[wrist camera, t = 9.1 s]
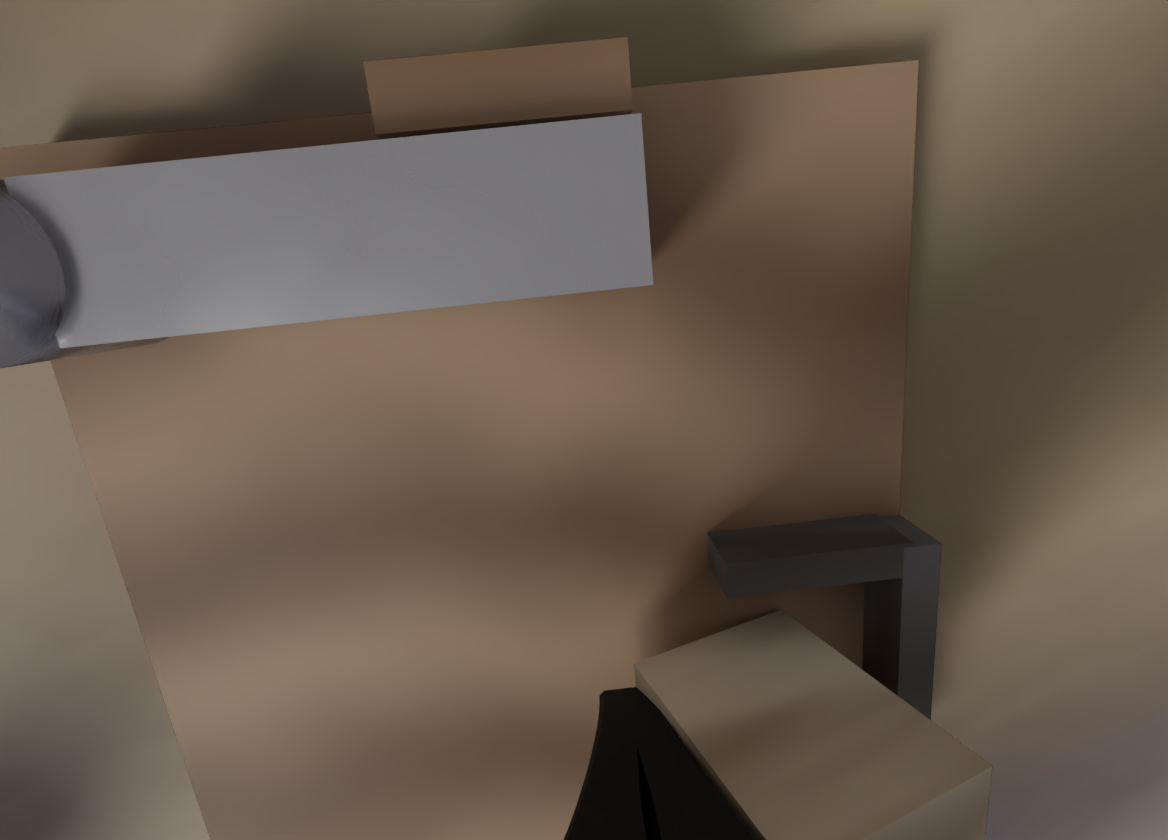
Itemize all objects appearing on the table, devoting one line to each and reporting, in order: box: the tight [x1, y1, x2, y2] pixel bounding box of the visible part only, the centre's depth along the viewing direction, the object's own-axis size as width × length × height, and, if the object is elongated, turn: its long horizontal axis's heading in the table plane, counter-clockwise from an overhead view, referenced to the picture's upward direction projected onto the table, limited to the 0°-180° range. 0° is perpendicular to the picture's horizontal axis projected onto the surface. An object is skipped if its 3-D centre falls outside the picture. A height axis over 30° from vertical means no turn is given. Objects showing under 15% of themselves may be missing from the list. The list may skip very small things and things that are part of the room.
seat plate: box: [0, 37, 941, 840], centre depth 13 cm, size 19×18×4 cm
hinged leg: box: [0, 113, 653, 368], centre depth 10 cm, size 11×3×3 cm, turn 96°
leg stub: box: [634, 610, 992, 840], centre depth 11 cm, size 4×4×5 cm
